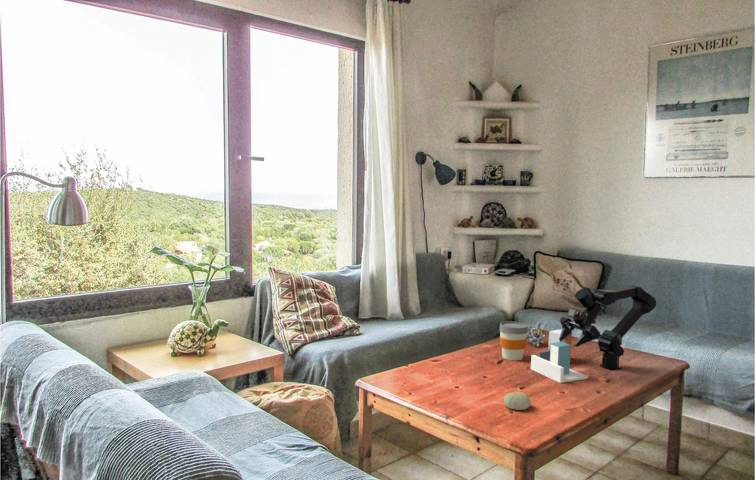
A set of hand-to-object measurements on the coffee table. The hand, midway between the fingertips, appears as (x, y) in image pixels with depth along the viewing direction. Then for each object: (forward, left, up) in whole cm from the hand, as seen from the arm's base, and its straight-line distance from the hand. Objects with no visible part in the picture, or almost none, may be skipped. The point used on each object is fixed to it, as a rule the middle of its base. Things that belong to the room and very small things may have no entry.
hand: (567, 343), depth 234 cm
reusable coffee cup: (+7, -27, -13) cm, 31 cm away
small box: (-10, -16, -13) cm, 23 cm away
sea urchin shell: (+40, +21, -13) cm, 47 cm away
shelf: (+3, -1, -13) cm, 13 cm away
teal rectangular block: (+4, 0, -12) cm, 13 cm away
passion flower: (-15, -41, -13) cm, 46 cm away
